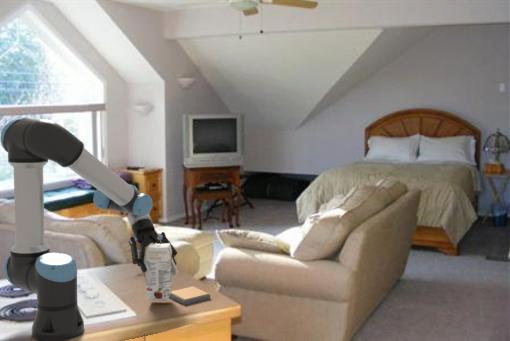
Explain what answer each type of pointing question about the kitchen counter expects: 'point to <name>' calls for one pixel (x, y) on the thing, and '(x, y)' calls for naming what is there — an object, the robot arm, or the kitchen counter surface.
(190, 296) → the board
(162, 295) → the juice carton
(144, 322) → the kitchen counter surface
